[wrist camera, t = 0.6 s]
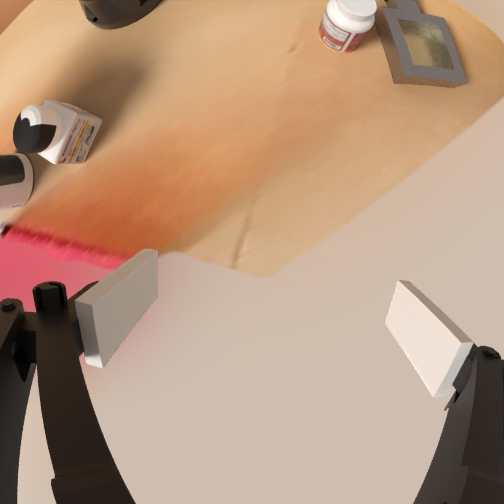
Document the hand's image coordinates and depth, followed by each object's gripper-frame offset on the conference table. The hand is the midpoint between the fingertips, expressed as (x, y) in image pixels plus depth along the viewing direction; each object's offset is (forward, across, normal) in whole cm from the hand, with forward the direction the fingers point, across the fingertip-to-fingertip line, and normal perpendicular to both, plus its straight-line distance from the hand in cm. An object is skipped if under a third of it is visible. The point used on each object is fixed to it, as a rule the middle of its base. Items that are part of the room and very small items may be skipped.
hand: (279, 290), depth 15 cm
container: (+26, -32, +10) cm, 42 cm away
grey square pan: (+26, +18, +35) cm, 47 cm away
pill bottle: (+26, +7, +28) cm, 39 cm away
